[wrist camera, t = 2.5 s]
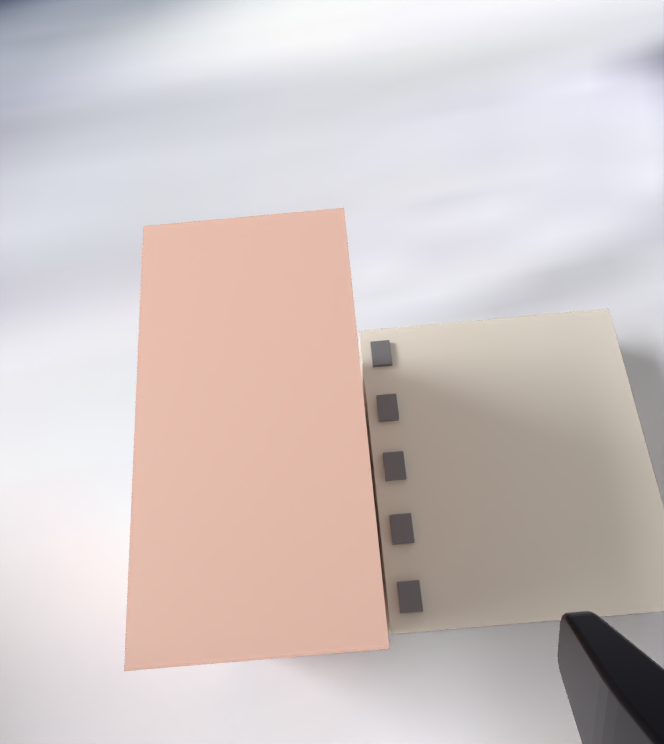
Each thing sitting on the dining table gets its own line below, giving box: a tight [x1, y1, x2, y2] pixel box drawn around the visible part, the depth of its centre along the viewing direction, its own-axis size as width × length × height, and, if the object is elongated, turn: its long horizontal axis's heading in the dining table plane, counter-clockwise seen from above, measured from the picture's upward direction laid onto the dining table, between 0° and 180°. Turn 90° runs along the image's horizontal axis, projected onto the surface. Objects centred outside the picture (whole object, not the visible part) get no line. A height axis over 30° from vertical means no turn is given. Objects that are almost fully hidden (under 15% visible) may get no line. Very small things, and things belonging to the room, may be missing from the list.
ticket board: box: [359, 309, 664, 634], centre depth 19 cm, size 9×8×3 cm
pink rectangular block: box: [124, 208, 389, 671], centre depth 15 cm, size 8×4×10 cm, turn 5°
